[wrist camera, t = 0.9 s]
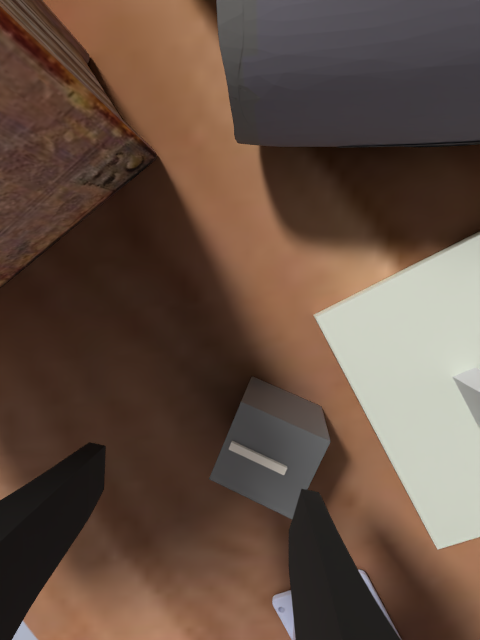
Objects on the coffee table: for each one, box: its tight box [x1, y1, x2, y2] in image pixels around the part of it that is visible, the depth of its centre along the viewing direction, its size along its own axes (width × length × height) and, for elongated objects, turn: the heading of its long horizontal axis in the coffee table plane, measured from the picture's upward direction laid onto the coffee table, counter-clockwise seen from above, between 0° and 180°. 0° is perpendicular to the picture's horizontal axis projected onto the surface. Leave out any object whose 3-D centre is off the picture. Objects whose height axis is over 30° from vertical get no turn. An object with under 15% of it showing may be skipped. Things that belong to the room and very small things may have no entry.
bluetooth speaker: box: [216, 0, 480, 148], centre depth 14 cm, size 23×9×10 cm, turn 89°
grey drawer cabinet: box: [209, 376, 331, 519], centre depth 20 cm, size 6×6×5 cm
